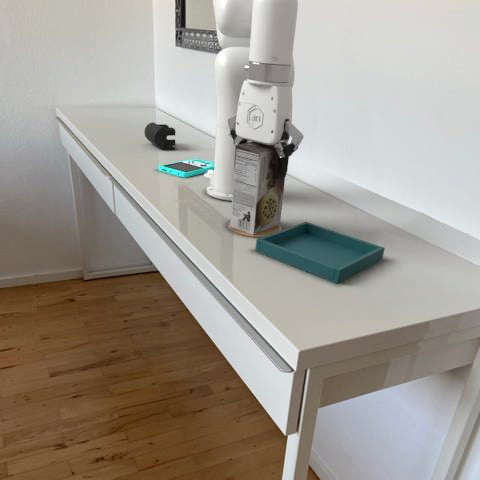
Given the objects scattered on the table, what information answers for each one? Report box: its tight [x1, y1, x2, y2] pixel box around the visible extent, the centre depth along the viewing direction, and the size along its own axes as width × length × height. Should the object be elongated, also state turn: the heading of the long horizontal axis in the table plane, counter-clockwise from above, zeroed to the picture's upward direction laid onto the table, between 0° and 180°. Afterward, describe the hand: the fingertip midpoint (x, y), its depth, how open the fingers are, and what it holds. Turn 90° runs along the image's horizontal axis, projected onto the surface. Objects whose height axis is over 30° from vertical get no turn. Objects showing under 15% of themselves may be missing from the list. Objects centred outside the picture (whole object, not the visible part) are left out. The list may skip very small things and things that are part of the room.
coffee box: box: [230, 142, 286, 235], centre depth 99 cm, size 9×6×16 cm
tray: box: [254, 221, 385, 284], centre depth 92 cm, size 18×16×2 cm
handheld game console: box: [157, 158, 214, 178], centre depth 141 cm, size 10×16×1 cm, turn 143°
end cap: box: [143, 121, 176, 151], centre depth 163 cm, size 10×7×7 cm
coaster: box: [228, 221, 283, 238], centre depth 103 cm, size 11×11×1 cm
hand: (259, 171), depth 98 cm, fingers open, 9 cm apart
